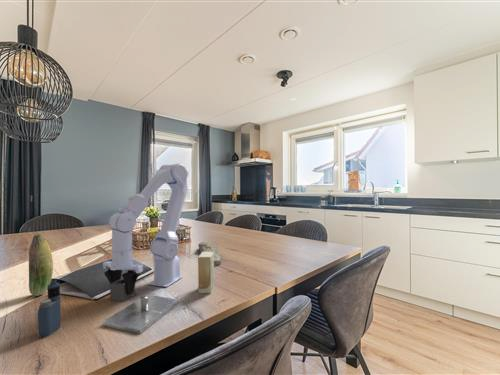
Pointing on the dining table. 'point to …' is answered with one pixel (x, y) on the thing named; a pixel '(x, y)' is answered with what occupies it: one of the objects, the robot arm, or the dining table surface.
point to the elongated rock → (211, 248)
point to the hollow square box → (119, 291)
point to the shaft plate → (141, 313)
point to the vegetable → (39, 265)
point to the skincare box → (206, 272)
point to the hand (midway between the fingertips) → (122, 292)
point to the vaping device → (50, 311)
